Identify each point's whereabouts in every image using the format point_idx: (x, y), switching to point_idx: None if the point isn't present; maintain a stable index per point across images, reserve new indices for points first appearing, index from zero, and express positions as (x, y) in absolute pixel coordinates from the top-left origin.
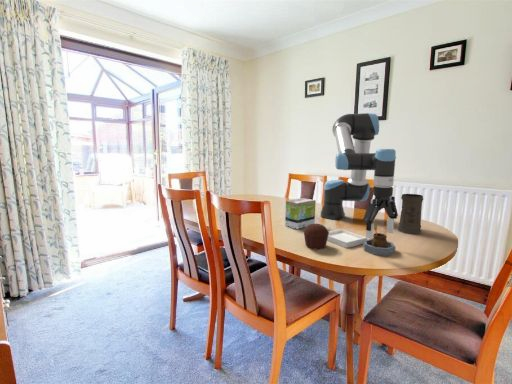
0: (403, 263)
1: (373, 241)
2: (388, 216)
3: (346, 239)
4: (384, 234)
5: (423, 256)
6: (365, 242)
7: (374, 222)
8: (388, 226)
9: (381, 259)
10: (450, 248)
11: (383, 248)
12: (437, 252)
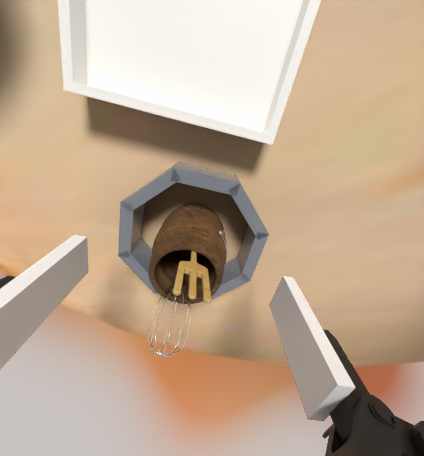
0: (142, 318)
1: (156, 237)
2: (359, 408)
3: (190, 11)
4: (213, 290)
5: (246, 336)
6: (151, 190)
7: (189, 292)
8: (293, 319)
9: (112, 270)
10: (373, 362)
11: (144, 279)
12: None
